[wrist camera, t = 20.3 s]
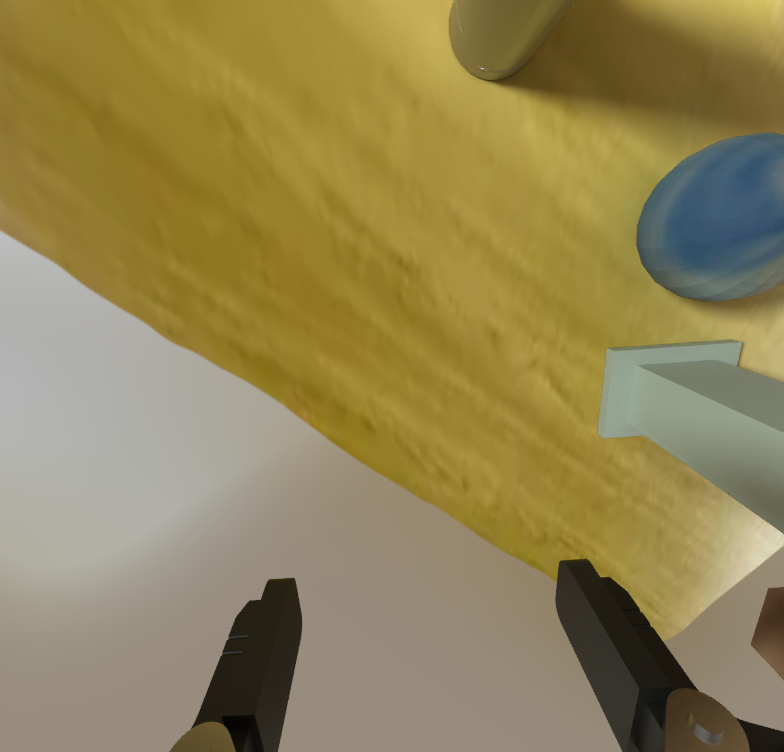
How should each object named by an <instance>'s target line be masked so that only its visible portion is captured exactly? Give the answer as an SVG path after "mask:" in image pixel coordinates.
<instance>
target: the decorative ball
mask: <svg viewBox="0 0 784 752" xmlns="http://www.w3.org/2000/svg"><path fill="white" fill-rule="evenodd" d="M636 244H637V249H638V252H639V256H640V259H641V263H642V265H643V266H644V268H645V269H646V270H647V272H648V273H649V274H650V276H651V277H652V278H653V279H654V281H655V282H656V283H658V284H660V285H661V286H663V287H665V288H666V289H668V290H670V291H671V292H673V293H675V294H677V295H678V296H682V297H686V298H691V299H697V300H703V301H712V302H719V301H727V300H733V299H740V298H746V297H751V296H754V295H758V294H761V293H763V292H765V291H767V290H769V289H772V288H774V287H776V286H778V285H780V284H783V283H784V135H781V134H776V133H757V134H751V135H745V136H739V137H734V138H729V139H724V140H721V141H719V142H717V143H714V144H712V145H710V146H708V147H706V148H704V149H702V150H700V151H699V152H697V153H695V154H693V155H691V156H689V157H687V158H686V159H684V160H683V161H681V162H680V163H679V164H678V165H677V166H676V167H675V168H674V169H673V170H672V171H670V172H669V173H668V174H667V175H666V176H665V177H664V178H663V179H662V180H661V181H660V182H659V183H658V184H657V186H656V187H655V189H654V190H653V192H652V193H651V195H650V196H649V198H648V199H647V201H646V202H645V204H644V207H643V210H642V213H641V216H640V219H639V222H638V225H637V243H636Z"/></svg>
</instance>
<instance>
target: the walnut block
mask: <svg viewBox="0 0 784 752" xmlns="http://www.w3.org/2000/svg"><path fill="white" fill-rule="evenodd" d="M751 646H753V648H754V649H755V650H756V651H757V652H758V653H759V654H760V655H761V656H762V657H763V658H764V659H765V660H766V662H767V663H768V664H769V665H770V666H771V667H772V668H773V669H774V670H775V671H776V672H777V673H778V674H779V676H780V677H781V678H782V679H783V680H784V587H780V588H768V591H767V594H766V598H765V601H764V604H763V607H762V611H761V613H760V617H759V620H758V623H757V626H756V629H755V633H754V636H753V639H752V642H751Z"/></svg>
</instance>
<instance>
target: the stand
mask: <svg viewBox="0 0 784 752" xmlns="http://www.w3.org/2000/svg"><path fill="white" fill-rule="evenodd" d="M741 347H742V342H740V341H736V340H717V341H703V342H689V343H674V344H660V345H645V346H631V347H617V348H607V353H606V362H605V371H604V380H603V388H602V397H601V406H600V414H599V423H598V432H597V433H598V434H599V435H600V436H601V437H602V438H615V437H629V436H643V435H645V436H647V437H648V438H649V439H651V440H652V441H654V442H655V443H656V444H658V445H659V446H661V447H662V448H663V449H665V450H666V451H668V452H669V453H670V454H672V455H673V456H675V457H676V458H678V459H679V460H680V461H682V462H683V463H685V464H686V465H687V466H689V467H690V468H692V469H693V470H694V471H696V472H697V473H699V474H700V475H701V476H703V477H704V478H706V479H707V480H709V481H710V482H711V483H713V484H714V485H716V486H717V487H718V488H720V489H721V490H723V491H724V492H725V493H727V494H728V495H730V496H731V497H733V498H734V499H735V500H737V501H738V502H740V503H741V504H742V505H744V506H745V507H747V508H748V509H749V510H751V511H752V512H754V513H755V514H756V515H758V516H759V517H761V518H762V519H764V520H765V521H766V522H768V523H769V524H771V525H772V526H773V527H775V528H776V529H778V530H779V531H780V532H782V533H783V534H784V382H781V381H778V380H775V379H772V378H769V377H766V376H763V375H760V374H757V373H754V372H751V371H748V370H745V369H742V368H739V367H737V364H738V360H739V355H740V351H741Z"/></svg>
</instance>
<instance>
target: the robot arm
mask: <svg viewBox="0 0 784 752" xmlns="http://www.w3.org/2000/svg"><path fill="white" fill-rule="evenodd" d="M575 1H576V0H454V1H453V4H452V7H451V12H450V18H449V35H450V41H451V45H452V48H453V51H454V53H455V56H456V57H457V59H458V60H459V62H460V64H461V65H462V66H463V67H464V68H465V69H466V70H467V71H468V72H470V73H471V74H473V75H474V76H476V77H479V78H482V79H485V80H498V79H503V78H506V77H508V76H510V75H512V74H514V73H515V72H517V71H518V70H519V69H521V68H522V67H523V66H524V64H525V63H526V62H527V61H528V60H529V59H530V57H531V56H532V55H533V54H534V52H535V51H536V50H537V49H538V47H539V46H540V45H541V44H542V42H543V41H544V40H545V39H546V37H547V36H548V35H549V34H550V32H551V31H552V30H553V29H554V27H555V26H556V25H557V24H558V22H559V21H560V20H561V18H562V17H563V16H564V15H565V13H566V12H567V11H568V10H569V8H570V7H571V6H572V4H573V3H574V2H575ZM555 600H556V608H557V612H558V616H559V619H560V622H561V624H562V626H563V628H564V630H565V632H566V634H567V636H568V638H569V641H570V643H571V645H572V647H573V649H574V651H575V653H576V655H577V657H578V659H579V662H580V664H581V666H582V668H583V670H584V672H585V674H586V676H587V678H588V680H589V682H590V684H591V687H592V689H593V691H594V693H595V695H596V697H597V699H598V701H599V703H600V705H601V707H602V709H603V712H604V714H605V716H606V718H607V720H608V722H609V724H610V726H611V729H612V731H613V733H614V735H615V737H616V739H617V741H618V743H619V745H620V747H621V749H622V752H784V732H783V731H779V730H775V729H771V728H768V727H764V726H760V725H756V724H753V723H749V722H746V721H743V720H740V719H738V718H735V717H734V716H733V715H732V714H731V712H729V711H728V710H727V709H726V708H725V707H724V706H723V705H722V704H720V703H719V702H718V701H716V700H715V699H713V698H712V697H710V696H708V695H706V694H704V693H702V692H699V691H698V689H697V688H696V687H695V686H694V684H693V683H692V682H691V680H690V679H689V677H688V676H687V675H686V673H685V672H684V670H683V669H682V668H681V666H680V665H679V664H678V662H677V661H676V659H675V658H674V656H673V655H672V654H671V652H670V651H669V650H668V648H667V647H666V645H665V644H664V642H663V641H662V640H661V638H660V637H659V635H658V634H657V633H656V631H655V630H654V628H653V627H651V626H650V623H649V621H648V620H647V618H646V617H645V616H644V614H643V613H642V612H640V609H639V607H638V606H637V604H636V603H635V602H634V600H633V599H632V597H631V596H630V595H629V593H628V592H627V591H626V590H625V589H624V588H622V587H621V586H620V585H619V584H618V583H616V582H615V581H614V580H613V579H611V578H610V577H603V578H600V576H599V575H598V573H597V572H596V570H595V568H594V567H593V565H592V564H591V563H590V561H589V560H587V559H576V560H561V561H560V562H559V568H558V578H557V589H556V599H555ZM301 633H302V614H301V608H300V603H299V597H298V592H297V587H296V581H295V579H294V578H284V579H270V580H268V582H267V584H266V586H265V589H264V592H263V595H262V598H261V600H254V601H249V602H248V603H247V604H246V605H245V607H244V608H243V609H242V611H241V612H240V613H239V614H238V615H237V617H236V618H235V621H234V624H233V626H232V629H231V631H230V634H229V639H228V640H227V642H226V644H225V647H224V650H223V654H222V656H221V657H220V660H219V662H218V665H217V667H216V670H215V673H214V675H213V677H212V680H211V683H210V686H209V688H208V690H207V693H206V696H205V698H204V701H203V703H202V706H201V709H200V711H199V714H198V716H197V718H196V721H195V723H194V724H193V726H192V728H191V729H190V730H189V731H188V732H186V733H185V734H184V735H183V736H182V737H181V738H180V739H179V740H178V741H177V742H176V743H175V745H174V746H173V747H172V749H171V750H170V752H278V748H279V743H280V738H281V733H282V729H283V724H284V719H285V713H286V709H287V703H288V699H289V694H290V689H291V684H292V679H293V675H294V669H295V664H296V659H297V655H298V649H299V645H300V640H301Z"/></svg>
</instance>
